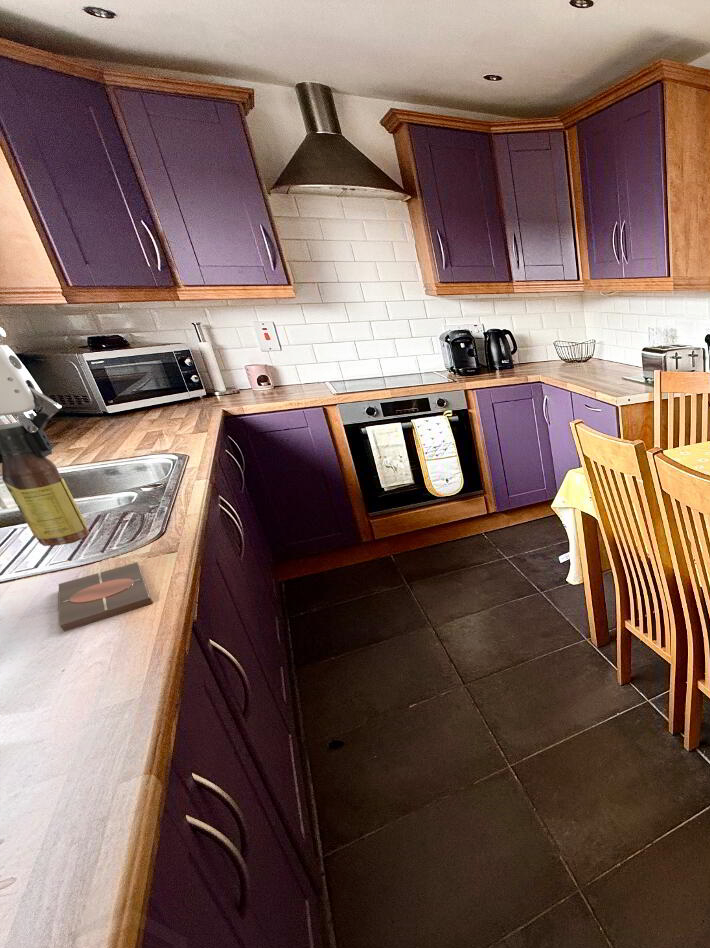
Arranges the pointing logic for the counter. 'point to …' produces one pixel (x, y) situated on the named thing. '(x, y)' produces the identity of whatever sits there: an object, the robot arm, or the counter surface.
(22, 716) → the counter surface
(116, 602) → the board
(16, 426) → the sauce bottle
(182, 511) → the counter surface
